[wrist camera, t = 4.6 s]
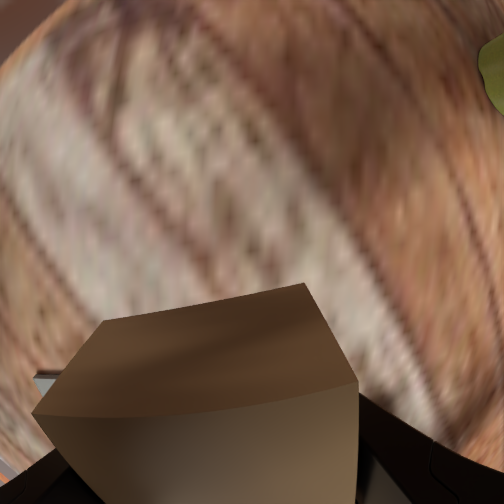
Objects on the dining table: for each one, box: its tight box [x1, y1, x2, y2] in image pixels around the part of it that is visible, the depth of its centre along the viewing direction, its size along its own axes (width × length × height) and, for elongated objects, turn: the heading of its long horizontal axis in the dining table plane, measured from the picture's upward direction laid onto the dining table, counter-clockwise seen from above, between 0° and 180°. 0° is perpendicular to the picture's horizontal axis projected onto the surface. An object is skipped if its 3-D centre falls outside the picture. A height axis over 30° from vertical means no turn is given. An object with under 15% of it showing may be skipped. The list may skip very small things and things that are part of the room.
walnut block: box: [31, 283, 359, 504], centre depth 6 cm, size 6×6×4 cm
